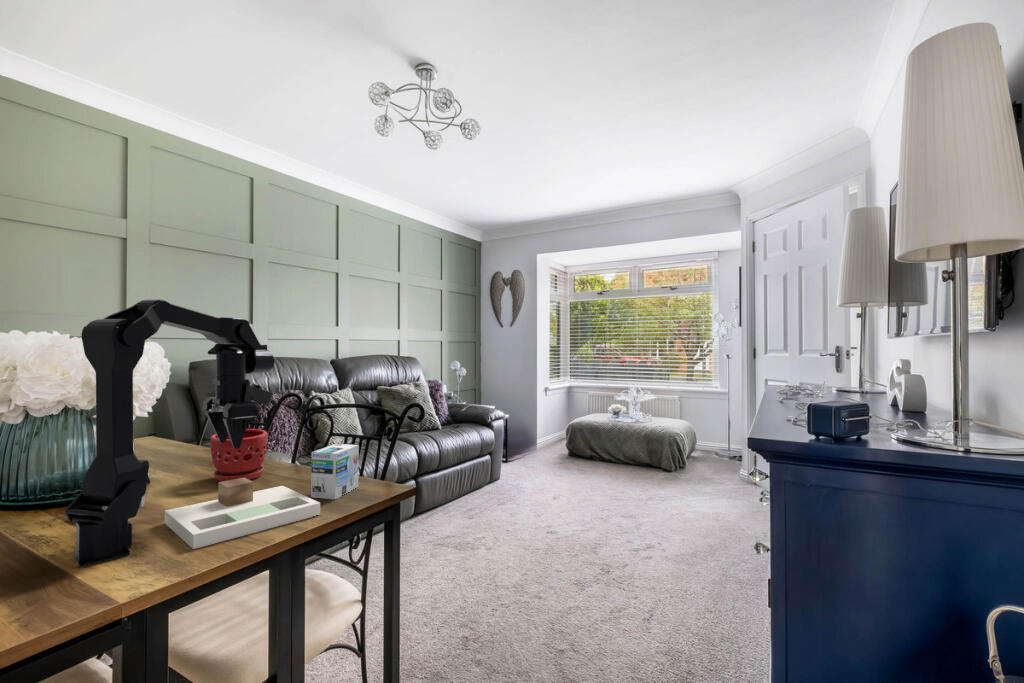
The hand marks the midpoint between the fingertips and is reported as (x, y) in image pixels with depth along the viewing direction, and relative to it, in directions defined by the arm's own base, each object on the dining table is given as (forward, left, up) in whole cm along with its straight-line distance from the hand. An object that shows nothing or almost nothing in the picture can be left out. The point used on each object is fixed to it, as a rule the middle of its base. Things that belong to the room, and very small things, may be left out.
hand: (229, 445), depth 106 cm
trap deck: (-1, -11, -13) cm, 18 cm away
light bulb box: (+21, -8, -14) cm, 26 cm away
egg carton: (-17, +14, -14) cm, 26 cm away
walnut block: (-1, -6, -11) cm, 13 cm away
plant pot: (+10, +22, -13) cm, 27 cm away
